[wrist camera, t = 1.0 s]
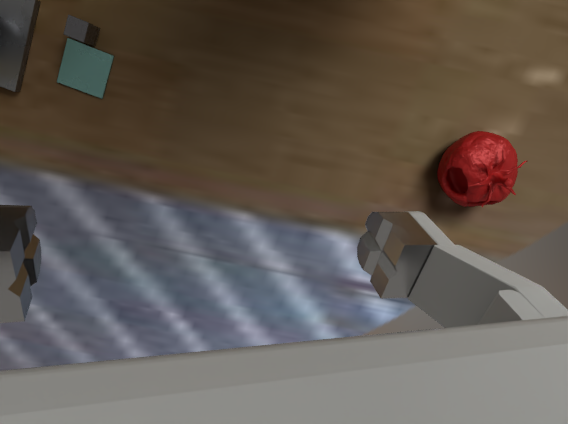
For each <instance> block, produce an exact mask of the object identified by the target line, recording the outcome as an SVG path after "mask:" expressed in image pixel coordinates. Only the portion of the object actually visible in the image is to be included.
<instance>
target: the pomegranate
mask: <svg viewBox="0 0 568 424" xmlns="http://www.w3.org/2000/svg"><path fill="white" fill-rule="evenodd" d="M517 162H518V160H517V153H516V151H515V149H514V148H513V146H512V145H511V144H510V142H509V141H508V140H507V139H505V138H504V137H501V136H499V135H496V134H493V133H489V132H483V131H477V132H472V133H470V134H468V135H466V136H464V137H462V138H460V139H459V140H457V141H456V142H454V143H453V144H452V145H451V146H449V147H448V149H447V150H446V151H445V152H444V154H443V156H442V158H441V161H440V163H439V167H438V171H437V176H438V181H439V183H440V185H441V187H442V189H443V191H444V192H445V193H446V195H447V196H448V197H449V198H451V199H452V200H453V201H454V202H455V203H457V204H459V205H461V206H465V207H467V206H470V207H473V206H482V207H483V205H487V204H488V205H491V204H495V203H499V202H501V201H503V200H504V199H505V198H506V197H507V196H508V195H509V194H510V192H511V193H513V194H514V195H516V194H515V192H514V191H513V189H512V187H513V186H514V184H515V181H516V177H517V173H518V171H517V168H520V167H521V166H522V165H523V164H524V163H525V162H527V161H524V162H523V163H521V164H520V165H519V166H518V167H517Z"/></svg>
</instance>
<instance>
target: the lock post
mask: <svg viewBox="0 0 568 424" xmlns="http://www.w3.org/2000/svg"><path fill="white" fill-rule="evenodd" d="M39 6H40V1H38V0H0V87H3V88H6V89H9V90H12V91H14V92H20V90H21V86H22V81H23V77H24V72H25V68H26V64H27V59H28V55H29V50H30V46H31V41H32V37H33V33H34V28H35V24H36V19H37V15H38V10H39ZM99 31H100V28H98V27H96V26H94V25H92V24H90V23H88V22H85V21H83V20H81V19H78V18H76V17H73V16H71V15H68V18H67V22H66V26H65V30H64V35H66V36H69V37H71V38H74V39H77V40H79V41H82V42H84V43H87V44H90V45H93V46H96V42H97V38H98V35H99ZM113 59H114V56H113V55H110V54H108V53H105V52H102V51H100V50H97V49H95V48H92V47H90V46H87V45H85V44H82V43H80V42H77V41H75V40H72V39H69V38H67V42H66V46H65V51H64V55H63V59H62V63H61V67H60V71H59V75H58V79H57V82H58V83H61V84H64V85H66V86H69V87H72V88H74V89H77V90H80V91H83V92H85V93H88V94H91V95H93V96H96V97H99V98H102V99H103V96H104V92H105V89H106V85H107V81H108V78H109V74H110V70H111V67H112V63H113Z"/></svg>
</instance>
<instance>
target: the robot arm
mask: <svg viewBox="0 0 568 424" xmlns="http://www.w3.org/2000/svg"><path fill="white" fill-rule="evenodd" d="M36 224H37V221H36V216H35V210H34V209H33V207H32V206H18V205H0V323H9V322H21V321H25V318H26V315H27V312H28V309H29V306H30V302H31V299H32V293H31V286H32V285H33V284H35V283H36V282H37V280H38V276H39V273H40V265H41V247H40V240H39V239H38V238H37V237H36V236H35V235H34V234H33V233H34V230H35V227H36ZM365 225H366V228H367V230H368V231H367V232H366V233H365V234H364V235H362V236H361V237H360V240H359V243H358V247H357V257H358V260H359V264H360V265H361V267H362V269H363V270H364V271H366V272H367V273H369V274H370V275H372V276H371V280H370V282H371V283H372V285H373V286H374V288H375V290H376V291H377V293H378V294H379V296H380V298H408V299H409V300H410V301H411V302H413V303H414V304H415V305H416V306H418V307H419V308H420V309H421V310H423V311H424V312H425V313H426V314H428V315H429V316H430V317H432V318H433V319H434V320H435V321H437V322H438V323H439V324H441V325H442V326H443V327H444V328H439V329H429V330H418V331H407V332H397V333H387V334H376V335H365V336H355V337H344V338H334V339H323V340H313V341H303V342H293V343H283V344H272V345H262V346H252V347H242V348H232V349H221V350H211V351H201V352H191V353H180V354H170V355H160V356H149V357H139V358H129V359H118V360H108V361H98V362H87V363H77V364H66V365H56V366H46V367H35V368H25V369H15V370H4V371H0V424H568V310H567V309H566V308H565V307H564V306H563V305H562V304H561V303H560V302H559V301H558V300H556V299H555V298H554V297H553V296H552V295H551V294H550V293H549V292H548V291H547V290H546V289H545V288H544V287H542V286H540V285H538V284H536V283H534V282H532V281H530V280H528V279H526V278H524V277H522V276H520V275H518V274H516V273H514V272H512V271H510V270H508V269H506V268H504V267H502V266H500V265H498V264H496V263H494V262H492V261H490V260H488V259H486V258H484V257H482V256H480V255H478V254H476V253H474V252H472V251H470V250H468V249H466V248H464V247H462V246H460V245H454V244H453V243H452V242H451V241H450V240H449V238H448V237H447V236H446V235H445V234H444V233H443V232H442V231H441V230H440V229H439V228H438V227H437V226H436V225H435V224H434V223H433V222H432V221H431V220H430V219H429V218H428V217H427V215H426V214H425V213H422V212H420V211H407V212H372V213H371V214H370V215H369V216H368V218H367V221H366V224H365Z"/></svg>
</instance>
